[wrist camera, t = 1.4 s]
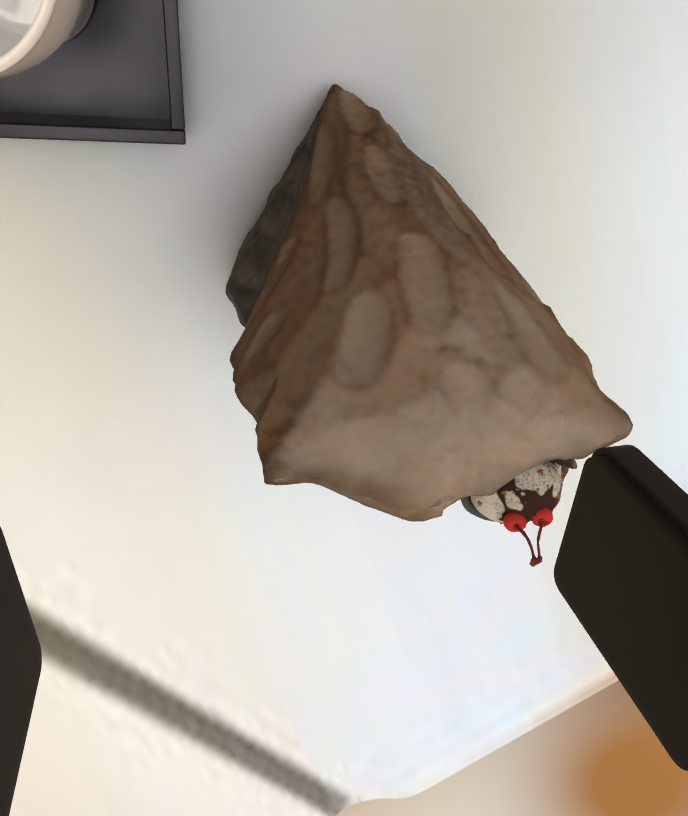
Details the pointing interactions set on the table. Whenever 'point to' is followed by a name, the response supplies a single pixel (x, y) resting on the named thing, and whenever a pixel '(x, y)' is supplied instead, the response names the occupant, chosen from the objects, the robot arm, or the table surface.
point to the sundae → (524, 499)
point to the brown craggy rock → (398, 334)
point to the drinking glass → (37, 30)
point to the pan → (104, 81)
